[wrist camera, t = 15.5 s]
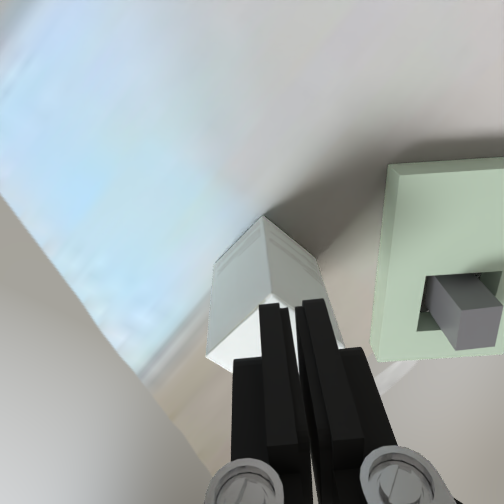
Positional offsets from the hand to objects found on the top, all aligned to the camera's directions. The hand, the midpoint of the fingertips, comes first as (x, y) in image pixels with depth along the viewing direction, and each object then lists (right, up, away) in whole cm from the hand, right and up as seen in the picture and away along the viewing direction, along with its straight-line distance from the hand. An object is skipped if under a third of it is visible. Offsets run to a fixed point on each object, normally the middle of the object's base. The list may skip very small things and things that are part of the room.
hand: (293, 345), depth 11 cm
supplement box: (0, +2, +30) cm, 30 cm away
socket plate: (+18, +2, +30) cm, 35 cm away
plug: (+18, -1, +31) cm, 36 cm away
